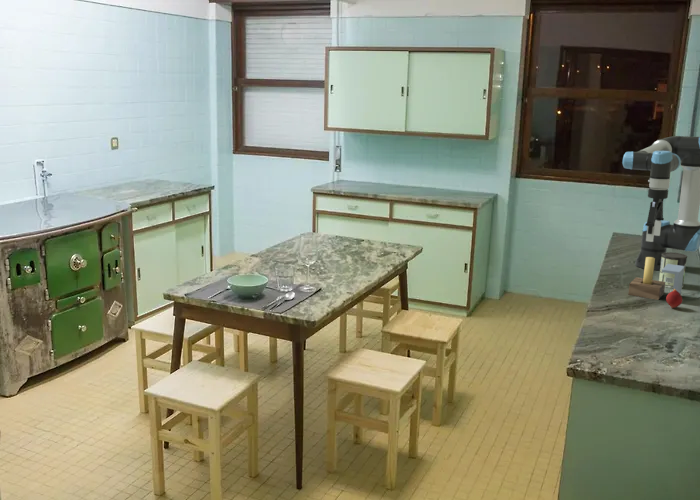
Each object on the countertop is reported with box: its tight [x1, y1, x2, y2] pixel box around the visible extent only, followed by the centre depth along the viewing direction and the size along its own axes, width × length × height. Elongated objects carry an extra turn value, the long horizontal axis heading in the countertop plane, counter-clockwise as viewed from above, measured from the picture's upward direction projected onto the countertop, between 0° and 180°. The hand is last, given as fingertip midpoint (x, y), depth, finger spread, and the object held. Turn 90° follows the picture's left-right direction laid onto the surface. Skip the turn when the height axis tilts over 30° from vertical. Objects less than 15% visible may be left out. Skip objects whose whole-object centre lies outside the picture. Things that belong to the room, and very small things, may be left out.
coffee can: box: [658, 251, 688, 289], centre depth 295 cm, size 10×10×14 cm
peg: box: [643, 257, 655, 285], centre depth 281 cm, size 4×4×16 cm
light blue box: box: [662, 264, 686, 295], centre depth 277 cm, size 12×7×13 cm, turn 145°
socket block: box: [627, 277, 666, 301], centre depth 283 cm, size 12×12×5 cm
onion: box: [665, 288, 683, 309], centre depth 264 cm, size 6×6×8 cm
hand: (652, 238), depth 278 cm, fingers open, 13 cm apart
